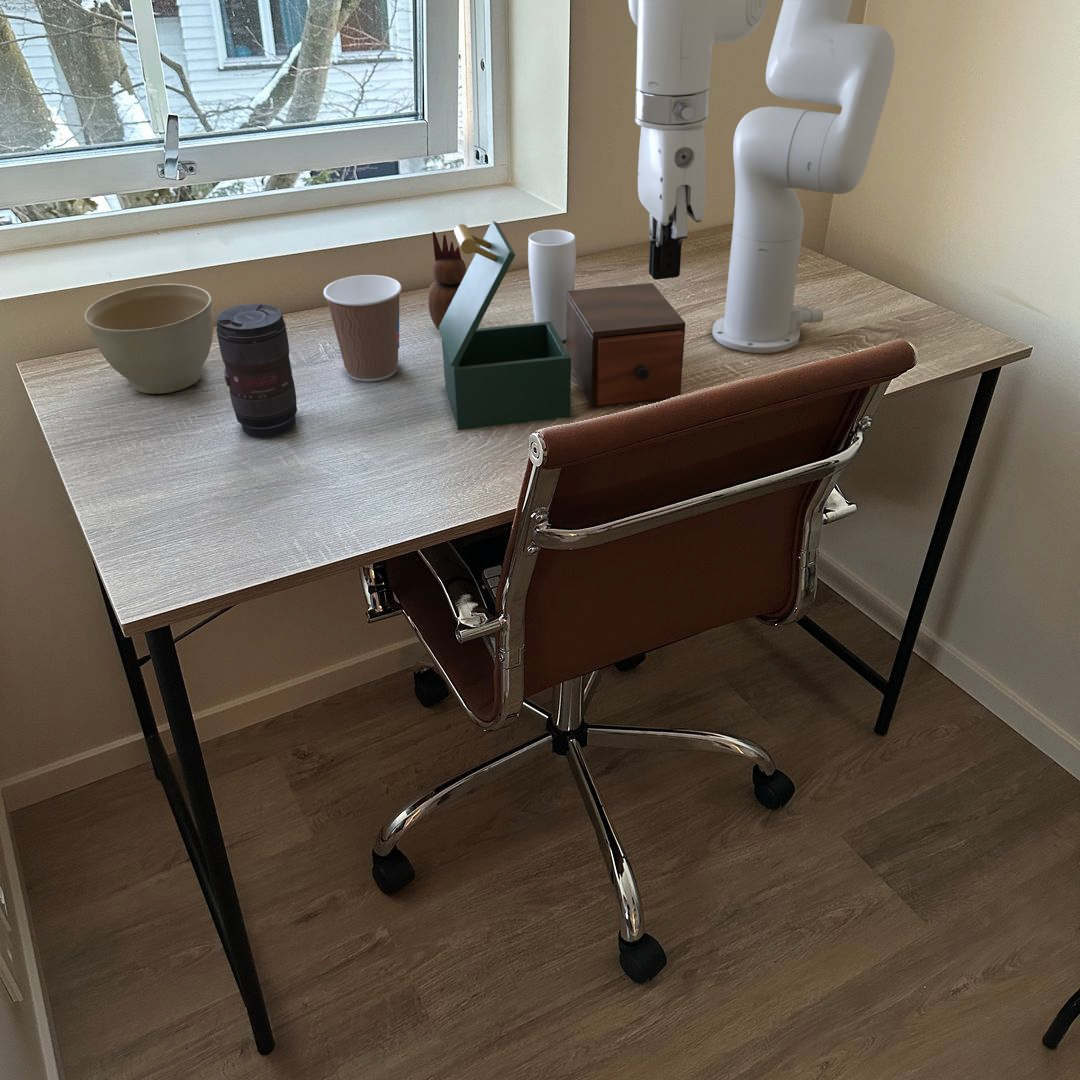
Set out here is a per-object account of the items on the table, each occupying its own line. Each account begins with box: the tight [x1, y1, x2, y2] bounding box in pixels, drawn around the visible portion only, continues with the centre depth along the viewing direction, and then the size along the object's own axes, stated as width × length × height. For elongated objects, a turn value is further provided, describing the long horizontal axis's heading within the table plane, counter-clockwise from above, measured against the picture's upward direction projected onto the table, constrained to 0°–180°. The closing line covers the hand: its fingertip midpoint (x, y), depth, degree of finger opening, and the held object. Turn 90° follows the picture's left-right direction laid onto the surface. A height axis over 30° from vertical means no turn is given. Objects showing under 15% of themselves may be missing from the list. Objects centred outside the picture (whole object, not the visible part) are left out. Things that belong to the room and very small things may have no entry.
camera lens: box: [215, 303, 298, 439], centre depth 126 cm, size 8×8×15 cm
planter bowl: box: [84, 283, 214, 395], centre depth 138 cm, size 16×16×11 cm
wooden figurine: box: [427, 231, 467, 331], centre depth 149 cm, size 7×6×15 cm
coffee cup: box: [323, 274, 402, 382], centre depth 139 cm, size 10×10×12 cm
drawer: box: [596, 330, 684, 406], centre depth 134 cm, size 14×11×9 cm
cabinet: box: [566, 282, 686, 409], centre depth 136 cm, size 14×12×11 cm
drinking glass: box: [527, 229, 577, 342], centre depth 147 cm, size 7×7×15 cm
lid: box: [438, 220, 516, 367], centre depth 124 cm, size 15×12×5 cm
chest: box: [441, 322, 572, 431], centre depth 132 cm, size 15×12×8 cm
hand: (664, 275), depth 117 cm, fingers closed
